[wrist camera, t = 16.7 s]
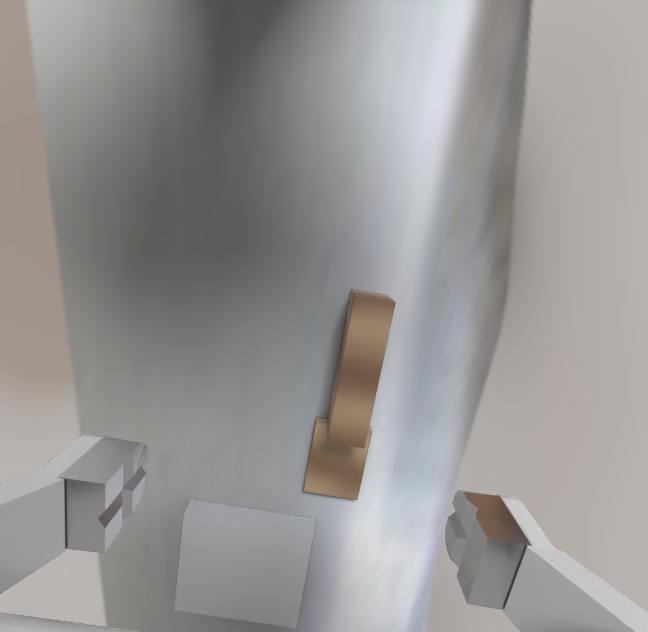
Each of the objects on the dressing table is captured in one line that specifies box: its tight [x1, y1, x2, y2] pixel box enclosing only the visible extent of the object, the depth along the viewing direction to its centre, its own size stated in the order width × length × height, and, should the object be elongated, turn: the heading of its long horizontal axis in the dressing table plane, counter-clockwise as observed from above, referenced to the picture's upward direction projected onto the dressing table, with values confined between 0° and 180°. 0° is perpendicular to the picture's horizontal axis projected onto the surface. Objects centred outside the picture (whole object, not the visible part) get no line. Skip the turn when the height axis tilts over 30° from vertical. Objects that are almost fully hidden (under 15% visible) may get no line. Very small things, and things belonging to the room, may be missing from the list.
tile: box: [174, 499, 315, 628], centre depth 35 cm, size 2×12×11 cm
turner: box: [304, 289, 395, 500], centre depth 30 cm, size 19×5×4 cm, turn 170°
